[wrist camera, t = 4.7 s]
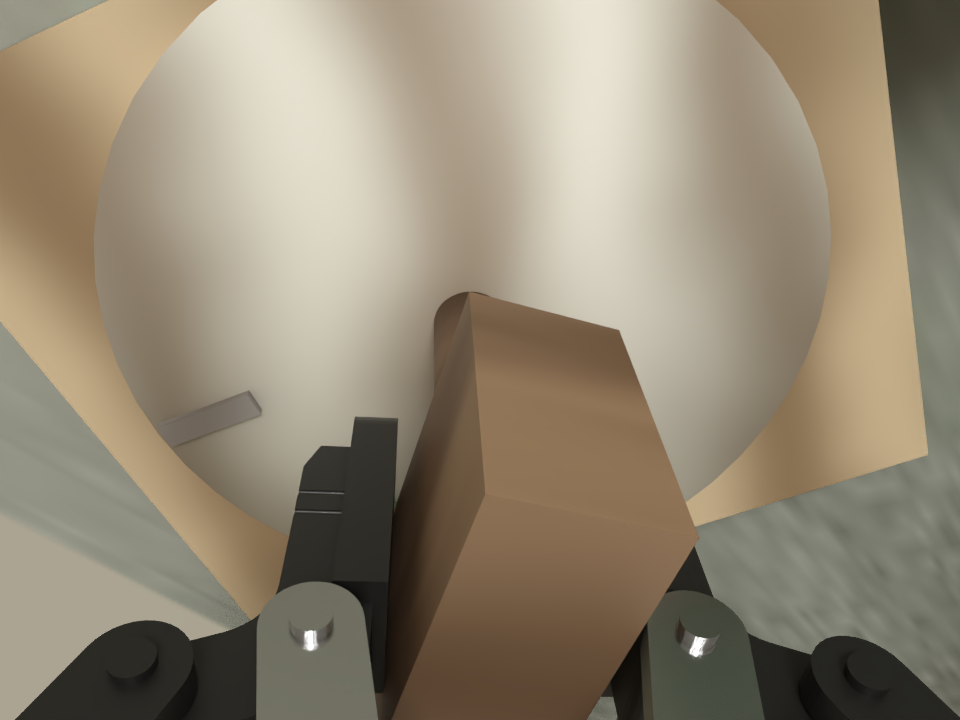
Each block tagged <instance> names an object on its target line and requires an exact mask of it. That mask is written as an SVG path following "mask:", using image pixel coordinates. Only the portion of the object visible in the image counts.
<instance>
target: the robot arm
mask: <svg viewBox="0 0 960 720" xmlns="http://www.w3.org/2000/svg"><path fill="white" fill-rule="evenodd" d="M397 436H398V418H381V417H357V416H355V419H354V425H353V432H352V440H351V447H343V446H320V447H319V448H318V450H317V451H316V452H315V453H314V454H313V456H312V457H311V458H310V459H309V460H308V461H307V463H306V464H305V465H304V467H303V471H302V476H301V481H300V486H299V494H298V495H297V500H296V505H295V513H294V515H293V519H292V524H291V529H290V534H289V539H288V543H287V548H286V553H285V558H284V563H283V568H282V572H281V577H280V582H279V586H278V589H277V592H276V594H275V596H274V597H273V598H271V599H270V600H269V601H268V603H267V604H266V605H265V606H264V608H263V610H262V611H261V613H260V614H259V615H258V616H256V617H255V618H254V619H252V620H251V621H249V622H247V623H246V624H244V625H242V626H240V627H237V628H235V629H232V630H229V631H226V632H223V633H219V634H215V635H211V636H207V637H203V638H199V639H195V640H191V641H190V640H189V639H188V637H187V636H186V635H185V633H183V632H182V631H181V630H180V629H179V628H177V627H175V626H173V625H171V624H168V623H165V622H160V621H137V622H132V623H128V624H124V625H121V626H119V627H116V628H113V629H112V630H110V631H108V632H106V633H104V634H103V635H101V636H100V637H98V638H97V639H95V640H94V641H93V642H92V643H91V644H90V645H89V646H87V648H85V649H84V651H82V653H80V655H79V656H78V657H77V658H76V659H75V660H74V661H73V662H72V663H71V664H70V665H69V666H68V667H67V668H66V669H65V670H64V671H63V672H62V673H61V674H60V675H59V676H58V677H57V678H56V679H55V680H54V681H53V682H52V683H51V684H50V685H49V686H48V687H47V688H46V689H45V690H44V691H43V692H42V693H41V694H40V695H39V696H38V697H37V698H36V699H35V700H34V701H33V702H32V703H31V704H30V705H29V706H28V707H27V708H26V709H25V710H24V711H23V712H22V713H21V714H20V715H19V716H18V717H17V718H16V719H15V720H378V715H377V707H376V700H375V693H383V690H384V678H385V661H386V643H387V626H388V609H389V591H390V574H391V557H392V539H393V522H394V503H395V481H396V459H397ZM601 697H614V702H615V707H616V711H617V720H960V717H959V716H958V715H957V714H956V713H954V712H953V711H952V710H951V709H950V708H949V707H948V706H947V705H946V704H945V703H944V702H943V701H942V700H941V699H940V698H939V697H938V696H937V695H935V694H934V693H933V692H932V691H931V690H930V689H929V688H928V687H927V686H926V685H925V684H924V683H923V682H922V681H921V680H920V679H919V678H918V677H916V676H915V675H914V674H913V673H912V672H911V671H910V670H909V669H908V668H907V667H906V666H905V665H904V664H903V663H902V662H901V661H899V660H898V659H897V658H896V657H895V656H894V655H892V654H891V653H889V652H888V651H886V650H885V649H883V648H881V647H879V646H878V645H876V644H874V643H871V642H869V641H866V640H863V639H860V638H856V637H850V636H835V637H830V638H827V639H825V640H823V641H822V642H820V643H819V644H818V645H817V646H816V647H815V649H814V651H813V653H812V655H810V654H807V653H803V652H800V651H796V650H793V649H790V648H786V647H783V646H779V645H776V644H773V643H769V642H767V641H764V640H761V639H759V638H757V637H755V636H752V635H750V634H749V633H747V630H746V628H745V626H744V624H743V623H742V621H741V620H740V618H739V617H738V616H737V615H736V614H735V613H734V612H733V611H732V610H731V609H730V608H729V607H728V606H726V605H725V604H724V603H722V602H720V601H719V600H717V599H715V598H714V597H713V595H712V592H711V590H710V587H709V584H708V582H707V579H706V576H705V574H704V571H703V568H702V565H701V563H700V560H699V557H698V555H697V552H696V549H695V547H693V549H692V551H691V552H690V554H689V555H688V557H687V559H686V560H685V562H684V563H683V565H682V567H681V568H680V570H679V571H678V573H677V575H676V576H675V578H674V579H673V581H672V583H671V584H670V586H669V588H668V589H667V591H666V592H665V594H664V596H663V597H662V599H661V600H660V602H659V604H658V605H657V607H656V608H655V610H654V612H653V613H652V615H651V616H650V618H649V620H648V621H647V623H646V625H645V626H644V628H643V629H642V631H641V633H640V634H639V636H638V637H637V639H636V641H635V642H634V644H633V645H632V647H631V649H630V650H629V652H628V653H627V655H626V657H625V658H624V660H623V662H622V663H621V665H620V666H619V668H618V670H617V671H616V673H615V674H614V676H613V678H612V679H611V681H610V682H609V684H608V686H607V687H606V689H605V690H604V692H603V694H602V695H601Z"/></svg>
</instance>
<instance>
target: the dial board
mask: <svg viewBox="0 0 960 720" xmlns="http://www.w3.org/2000/svg"><path fill="white" fill-rule="evenodd" d="M462 292H479V293H483V294H486V295H488V296H490V297H493V298H497V299H500V300H504V301H508V302H512V303H516V304H520V305H524V306H528V307H531V308H535V309H539V310H543V311H547V312H551V313H555V314H559V315H563V316H566V317H570V318H574V319H578V320H582V321H586V322H590V323H594V324H597V325H601V326H605V327H609V328H613V329H617V330H619V331H620V334H621V336H622V339H623V341H624V344H625V347H626V349H627V352H628V354H629V357H630V360H631V362H632V365H633V367H634V370H635V373H636V375H637V378H638V380H639V383H640V385H641V388H642V391H643V393H644V396H645V398H646V401H647V404H648V406H649V409H650V411H651V414H652V417H653V419H654V422H655V424H656V427H657V430H658V432H659V435H660V437H661V440H662V443H663V445H664V448H665V450H666V453H667V455H668V458H669V461H670V463H671V466H672V468H673V471H674V474H675V476H676V479H677V481H678V484H679V487H680V489H681V492H682V494H683V497H684V500H685V502H686V505H687V507H688V510H689V513H690V515H691V518H692V520H693V523H694V525H695V526H699V525H702V524H705V523H708V522H711V521H715V520H718V519H721V518H724V517H728V516H731V515H734V514H737V513H741V512H744V511H747V510H750V509H754V508H757V507H760V506H763V505H767V504H770V503H773V502H776V501H780V500H783V499H786V498H789V497H793V496H796V495H799V494H802V493H806V492H809V491H812V490H815V489H818V488H822V487H825V486H828V485H831V484H835V483H838V482H841V481H844V480H848V479H851V478H854V477H857V476H861V475H864V474H867V473H870V472H874V471H877V470H880V469H883V468H887V467H890V466H893V465H896V464H900V463H903V462H906V461H909V460H912V459H916V458H919V457H922V456H925V455H928V449H927V440H926V430H925V421H924V412H923V403H922V394H921V385H920V375H919V366H918V357H917V348H916V339H915V330H914V321H913V311H912V302H911V293H910V284H909V275H908V266H907V257H906V247H905V238H904V229H903V220H902V211H901V202H900V192H899V183H898V174H897V165H896V156H895V147H894V138H893V128H892V119H891V110H890V101H889V92H888V83H887V73H886V64H885V55H884V46H883V37H882V28H881V19H880V9H879V0H108V1H106V2H104V3H102V4H100V5H98V6H95V7H93V8H91V9H89V10H87V11H85V12H83V13H81V14H78V15H76V16H74V17H72V18H70V19H68V20H66V21H63V22H61V23H59V24H57V25H55V26H53V27H51V28H49V29H46V30H44V31H42V32H40V33H38V34H36V35H34V36H32V37H29V38H27V39H25V40H23V41H21V42H19V43H17V44H15V45H12V46H10V47H8V48H6V49H4V50H2V51H0V321H1V322H2V324H3V325H4V326H5V327H6V328H7V330H8V331H9V332H10V333H11V334H12V335H13V337H14V338H15V339H16V340H17V341H18V343H19V344H20V345H21V346H22V347H23V349H24V350H25V351H26V352H27V353H28V355H29V356H30V357H31V358H32V359H33V361H34V362H35V363H36V364H37V365H38V367H39V368H40V369H41V370H42V371H43V372H44V374H45V375H46V376H47V377H48V378H49V380H50V381H51V382H52V383H53V384H54V386H55V387H56V388H57V389H58V390H59V392H60V393H61V394H62V395H63V396H64V398H65V399H66V400H67V401H68V402H69V403H70V405H71V406H72V407H73V408H74V409H75V411H76V412H77V413H78V414H79V415H80V417H81V418H82V419H83V420H84V421H85V423H86V424H87V425H88V426H89V427H90V429H91V430H92V431H93V432H94V433H95V435H96V436H97V437H98V438H99V439H100V440H101V442H102V443H103V444H104V445H105V446H106V448H107V449H108V450H109V451H110V452H111V454H112V455H113V456H114V457H115V458H116V460H117V461H118V462H119V463H120V464H121V466H122V467H123V468H124V469H125V470H126V472H127V473H128V474H129V475H130V476H131V477H132V479H133V480H134V481H135V482H136V483H137V485H138V486H139V487H140V488H141V489H142V491H143V492H144V493H145V494H146V495H147V497H148V498H149V499H150V500H151V501H152V503H153V504H154V505H155V506H156V507H157V509H158V510H159V511H160V512H161V513H162V514H163V516H164V517H165V518H166V519H167V520H168V522H169V523H170V524H171V525H172V526H173V528H174V529H175V530H176V531H177V532H178V534H179V535H180V536H181V537H182V538H183V540H184V541H185V542H186V543H187V544H188V545H189V547H190V548H191V549H192V550H193V551H194V553H195V554H196V555H197V556H198V557H199V559H200V560H201V561H202V562H203V563H204V565H205V566H206V567H207V568H208V569H209V571H210V572H211V573H212V574H213V575H214V577H215V578H216V579H217V580H218V581H219V582H220V584H221V585H222V586H223V587H224V588H225V590H226V591H227V592H228V593H229V594H230V596H231V597H232V598H233V599H234V600H235V602H236V603H237V604H238V605H239V606H240V608H241V609H242V610H243V611H244V612H245V614H246V615H247V616H248V617H249V618H250V619H251V620H252V619H254V618H255V617H256V616H258V615H259V614H260V613H261V611H262V610H263V608H264V606H265V605H266V604H267V603H268V601H269V600H270V599H271V598H273V597H274V596H275V594H276V592H277V589H278V586H279V582H280V577H281V572H282V568H283V563H284V558H285V553H286V548H287V543H288V539H289V534H290V529H291V524H292V519H293V515H294V513H295V505H296V500H297V495H298V494H299V486H300V481H301V476H302V471H303V467H304V465H305V464H306V463H307V461H308V460H309V459H310V458H311V457H312V456H313V454H314V453H315V452H316V451H317V450H318V448H319V447H320V446H343V447H351V440H352V432H353V425H354V419H355V416H357V417H381V418H398V436H397V459H396V481H395V503H394V509H395V506H396V503H397V500H398V497H399V494H400V491H401V488H402V485H403V483H404V480H405V477H406V474H407V471H408V468H409V465H410V462H411V459H412V456H413V453H414V451H415V448H416V445H417V442H418V439H419V436H420V433H421V430H422V427H423V424H424V421H425V419H426V416H427V413H428V410H429V407H430V404H431V401H432V398H433V395H434V319H435V315H436V312H437V310H438V308H439V307H440V306H441V304H442V303H443V302H444V301H445V300H447V299H448V298H450V297H451V296H453V295H456V294H458V293H462Z"/></svg>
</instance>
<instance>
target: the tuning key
mask: <svg viewBox="0 0 960 720" xmlns="http://www.w3.org/2000/svg"><path fill="white" fill-rule="evenodd" d="M698 539H699V536H698V533H697V531H696V528H695V525H694V523H693V520H692V518H691V515H690V513H689V510H688V507H687V505H686V502H685V500H684V497H683V494H682V492H681V489H680V487H679V484H678V481H677V479H676V476H675V474H674V471H673V468H672V466H671V463H670V461H669V458H668V455H667V453H666V450H665V448H664V445H663V443H662V440H661V437H660V435H659V432H658V430H657V427H656V424H655V422H654V419H653V417H652V414H651V411H650V409H649V406H648V404H647V401H646V398H645V396H644V393H643V391H642V388H641V385H640V383H639V380H638V378H637V375H636V373H635V370H634V367H633V365H632V362H631V360H630V357H629V354H628V352H627V349H626V347H625V344H624V341H623V339H622V336H621V334H620V331H619V330H617V329H613V328H609V327H605V326H601V325H597V324H594V323H590V322H586V321H582V320H578V319H574V318H570V317H566V316H563V315H559V314H555V313H551V312H547V311H543V310H539V309H535V308H531V307H528V306H524V305H520V304H516V303H512V302H508V301H504V300H500V299H497V298H493V297H490V296H488V295H486V294H483V293H479V292H462V293H458V294H456V295H453V296H451V297H450V298H448V299H447V300H445V301H444V302H443V303H442V304H441V306H440V307H439V308H438V310H437V312H436V315H435V319H434V395H433V398H432V401H431V404H430V407H429V410H428V413H427V416H426V419H425V421H424V424H423V427H422V430H421V433H420V436H419V439H418V442H417V445H416V448H415V451H414V453H413V456H412V459H411V462H410V465H409V468H408V471H407V474H406V477H405V480H404V483H403V485H402V488H401V491H400V494H399V497H398V500H397V503H396V506H395V509H394V522H393V539H392V557H391V574H390V591H389V609H388V626H387V643H386V661H385V678H384V690H383V693H375V700H376V707H377V715H378V720H586V719H587V718H588V716H589V715H590V713H591V711H592V710H593V708H594V707H595V705H596V703H597V702H598V700H599V699H600V697H601V695H602V694H603V692H604V690H605V689H606V687H607V686H608V684H609V682H610V681H611V679H612V678H613V676H614V674H615V673H616V671H617V670H618V668H619V666H620V665H621V663H622V662H623V660H624V658H625V657H626V655H627V653H628V652H629V650H630V649H631V647H632V645H633V644H634V642H635V641H636V639H637V637H638V636H639V634H640V633H641V631H642V629H643V628H644V626H645V625H646V623H647V621H648V620H649V618H650V616H651V615H652V613H653V612H654V610H655V608H656V607H657V605H658V604H659V602H660V600H661V599H662V597H663V596H664V594H665V592H666V591H667V589H668V588H669V586H670V584H671V583H672V581H673V579H674V578H675V576H676V575H677V573H678V571H679V570H680V568H681V567H682V565H683V563H684V562H685V560H686V559H687V557H688V555H689V554H690V552H691V551H692V549H693V547H694V546H695V544H696V542H697V541H698Z"/></svg>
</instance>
